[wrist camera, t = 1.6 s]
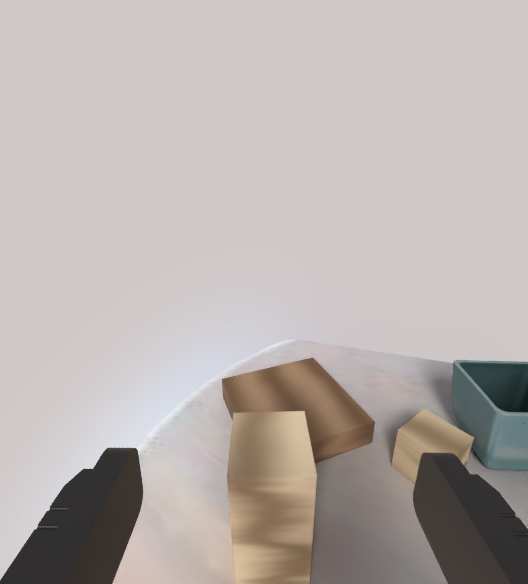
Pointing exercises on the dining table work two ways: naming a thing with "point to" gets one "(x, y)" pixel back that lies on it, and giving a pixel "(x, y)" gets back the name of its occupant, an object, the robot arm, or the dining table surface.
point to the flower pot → (493, 410)
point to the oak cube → (427, 442)
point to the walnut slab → (304, 404)
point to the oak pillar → (271, 497)
